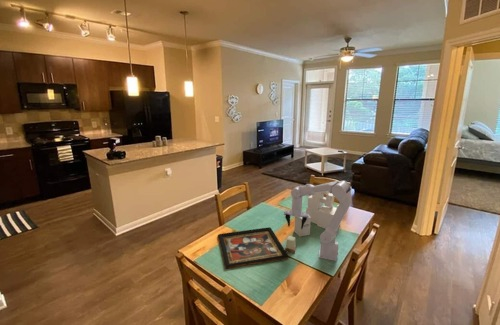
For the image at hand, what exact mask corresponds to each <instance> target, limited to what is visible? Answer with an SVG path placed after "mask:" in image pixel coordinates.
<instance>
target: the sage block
mask: <svg viewBox="0 0 500 325" xmlns="http://www.w3.org/2000/svg"><path fill="white" fill-rule="evenodd" d="M296 239H297V238H296V237H295V236H292V235H288V237H287V238H286V244H285V247H286V248H289V249H292V250H293V249H294V247H295V245H296Z"/></svg>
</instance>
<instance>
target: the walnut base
mask: <svg viewBox="0 0 500 325" xmlns="http://www.w3.org/2000/svg"><path fill="white" fill-rule="evenodd" d="M284 250H285V251H286V253H289V254H296V250H297V244H295V247H294V249H293V250H292V249H289V248H286V246H285V247H284Z"/></svg>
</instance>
